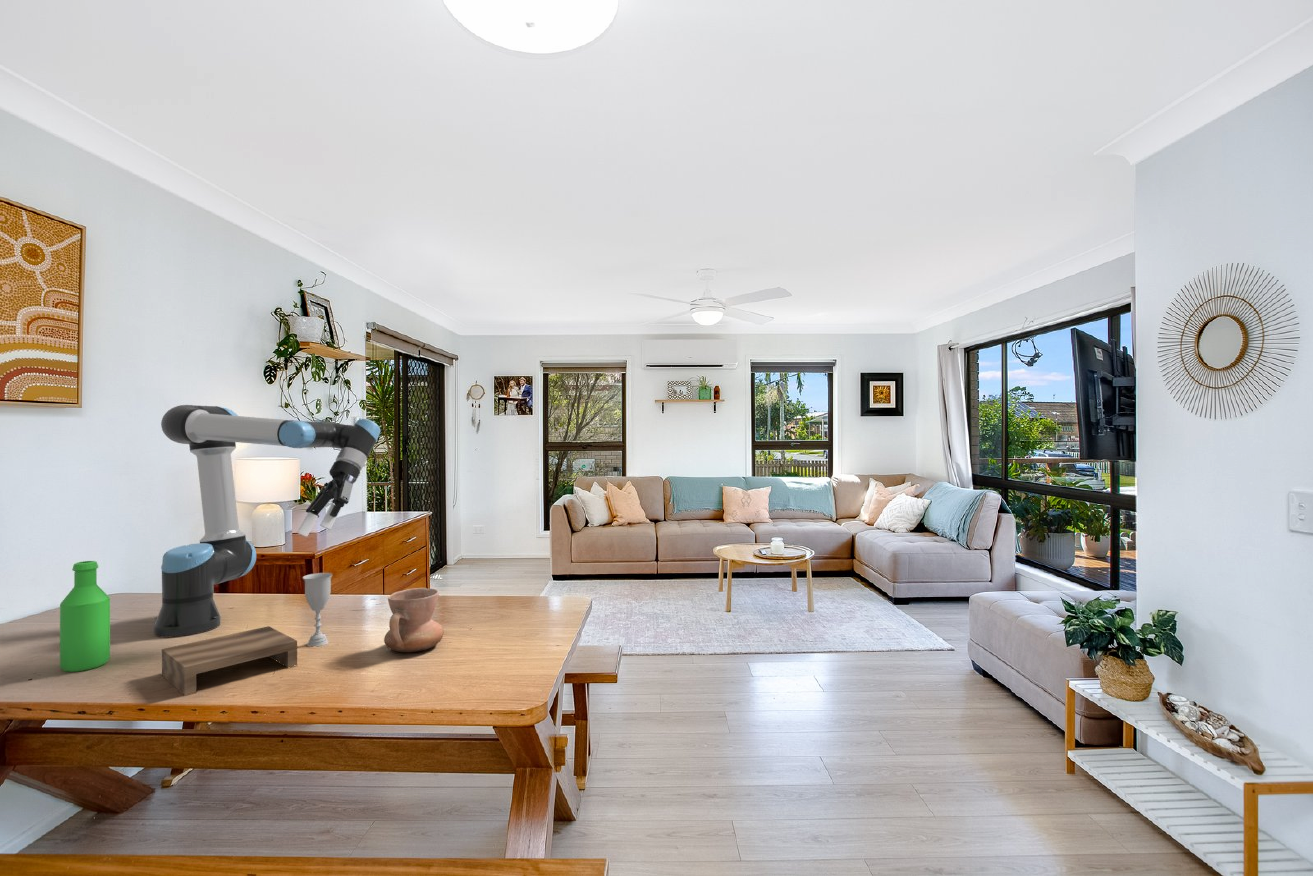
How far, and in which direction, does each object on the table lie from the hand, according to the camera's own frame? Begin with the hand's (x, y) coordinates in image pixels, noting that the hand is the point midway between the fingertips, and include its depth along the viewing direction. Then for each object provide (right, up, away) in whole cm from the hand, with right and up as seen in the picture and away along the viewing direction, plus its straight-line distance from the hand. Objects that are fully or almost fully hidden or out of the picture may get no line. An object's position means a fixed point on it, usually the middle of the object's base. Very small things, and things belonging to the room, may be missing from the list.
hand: (313, 531), depth 168 cm
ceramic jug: (+31, -29, -9) cm, 43 cm away
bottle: (-43, -29, -21) cm, 56 cm away
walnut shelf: (-6, -29, -24) cm, 38 cm away
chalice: (+4, -29, -5) cm, 30 cm away
